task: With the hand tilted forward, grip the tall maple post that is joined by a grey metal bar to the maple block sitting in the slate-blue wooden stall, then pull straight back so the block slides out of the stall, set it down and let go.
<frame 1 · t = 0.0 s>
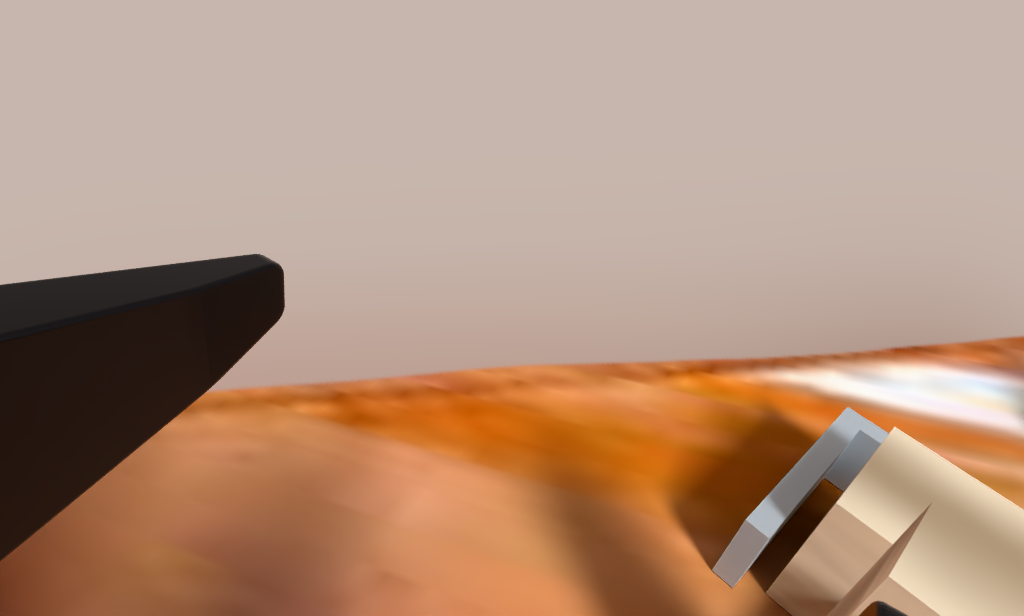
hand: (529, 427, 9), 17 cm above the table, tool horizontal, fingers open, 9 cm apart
stall: (868, 595, 28), on the table
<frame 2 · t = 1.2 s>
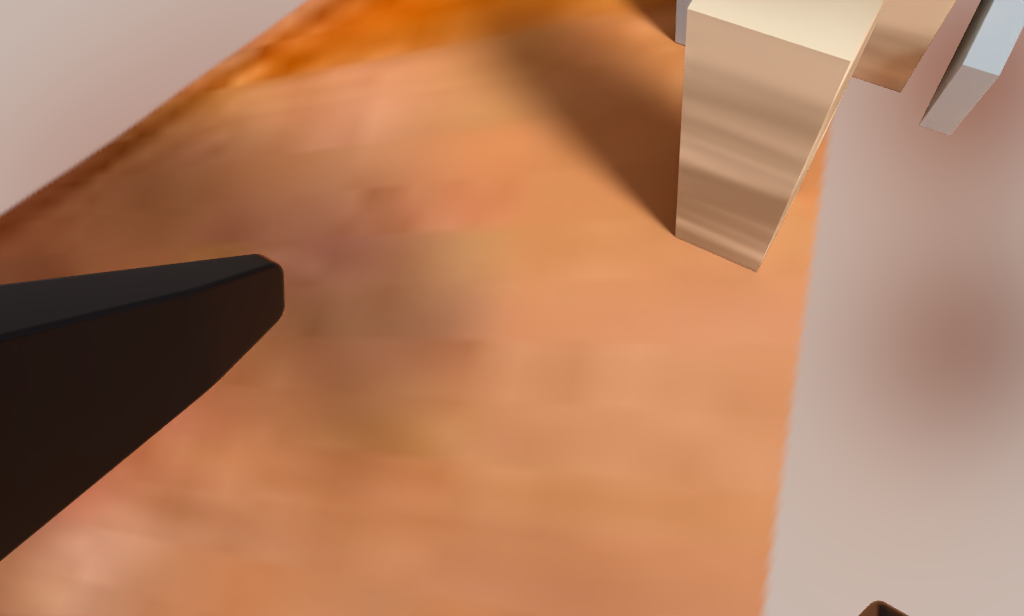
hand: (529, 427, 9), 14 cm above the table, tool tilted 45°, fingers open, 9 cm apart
tethered block: (734, 217, 23), on the table
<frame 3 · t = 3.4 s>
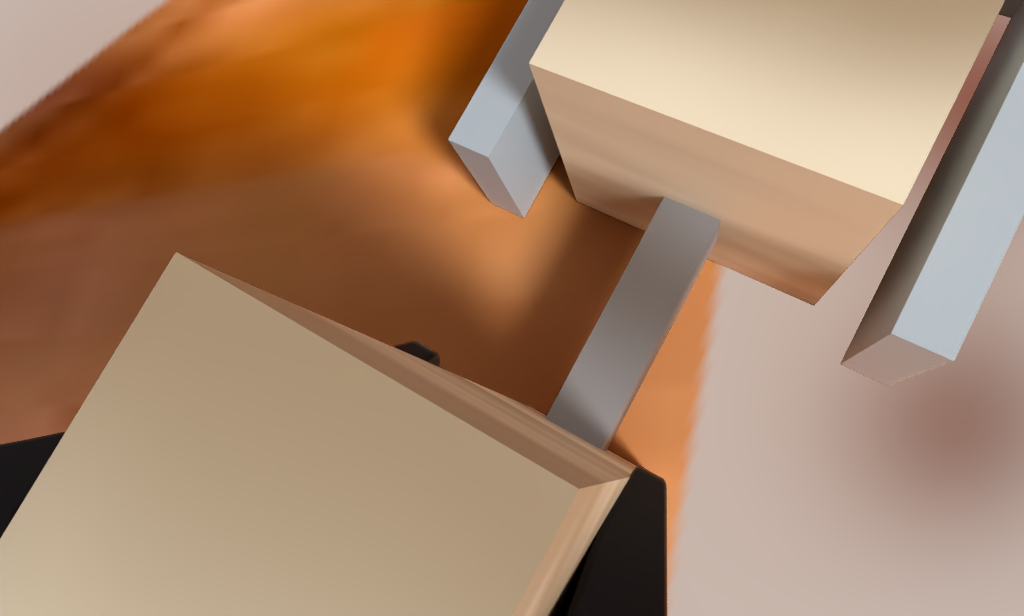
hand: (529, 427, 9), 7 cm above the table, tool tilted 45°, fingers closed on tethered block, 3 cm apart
tethered block: (557, 498, 15), on the table, touching gripper
stall: (755, 123, 16), on the table
when the fingers open (7 cm above the table, at t = 7.0 s): tethered block stays where it is, on the table.
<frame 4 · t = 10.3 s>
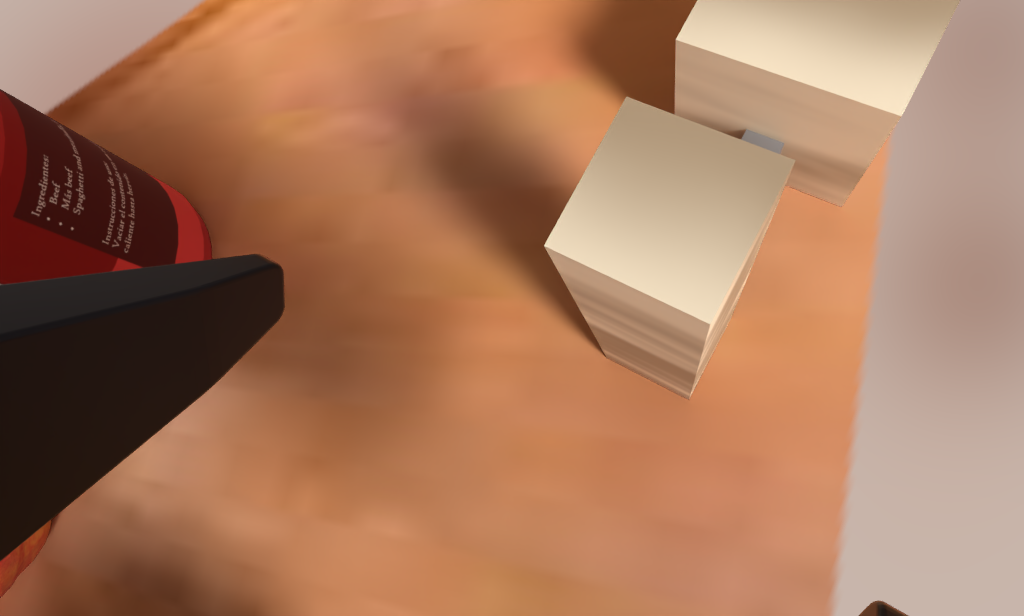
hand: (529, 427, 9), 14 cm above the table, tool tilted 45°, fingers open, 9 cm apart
fruit: (27, 509, 27), on the table
canned food: (139, 278, 28), on the table
tethered block: (667, 338, 22), on the table
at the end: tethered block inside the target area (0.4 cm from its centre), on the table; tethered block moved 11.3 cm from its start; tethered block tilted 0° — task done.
